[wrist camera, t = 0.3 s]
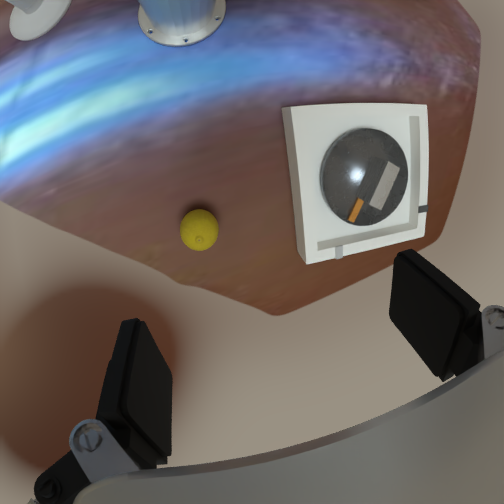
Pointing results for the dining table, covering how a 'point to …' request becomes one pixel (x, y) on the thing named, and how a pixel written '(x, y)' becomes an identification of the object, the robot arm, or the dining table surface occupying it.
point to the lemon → (199, 229)
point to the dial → (364, 176)
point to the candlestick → (35, 17)
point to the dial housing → (309, 166)
